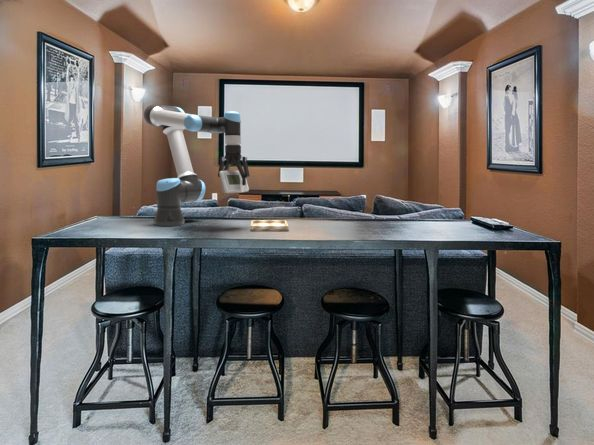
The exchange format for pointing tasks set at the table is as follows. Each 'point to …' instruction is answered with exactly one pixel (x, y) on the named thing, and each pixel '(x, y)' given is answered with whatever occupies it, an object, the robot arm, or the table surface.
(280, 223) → the birch tray
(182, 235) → the table surface
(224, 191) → the digital clock
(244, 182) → the robot arm
